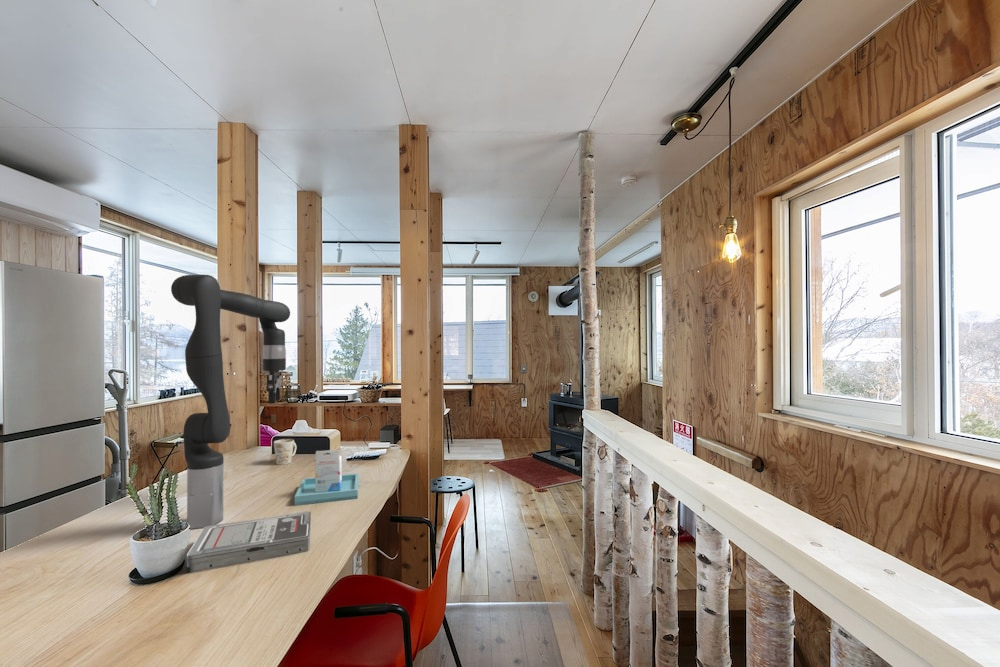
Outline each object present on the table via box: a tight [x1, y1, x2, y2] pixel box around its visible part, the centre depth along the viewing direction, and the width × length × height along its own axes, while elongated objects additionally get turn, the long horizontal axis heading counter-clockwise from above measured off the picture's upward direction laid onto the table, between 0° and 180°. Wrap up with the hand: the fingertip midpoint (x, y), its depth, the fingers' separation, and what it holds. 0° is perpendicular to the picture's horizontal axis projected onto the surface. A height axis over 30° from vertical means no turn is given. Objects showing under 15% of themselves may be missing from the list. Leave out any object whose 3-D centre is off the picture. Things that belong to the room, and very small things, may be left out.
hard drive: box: [184, 511, 312, 574], centre depth 116 cm, size 18×27×4 cm
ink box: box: [314, 449, 343, 492], centre depth 158 cm, size 8×5×15 cm, turn 101°
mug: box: [273, 438, 298, 465], centre depth 200 cm, size 8×13×10 cm, turn 170°
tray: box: [294, 473, 359, 506], centre depth 158 cm, size 20×20×3 cm
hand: (274, 401), depth 158 cm, fingers open, 8 cm apart
